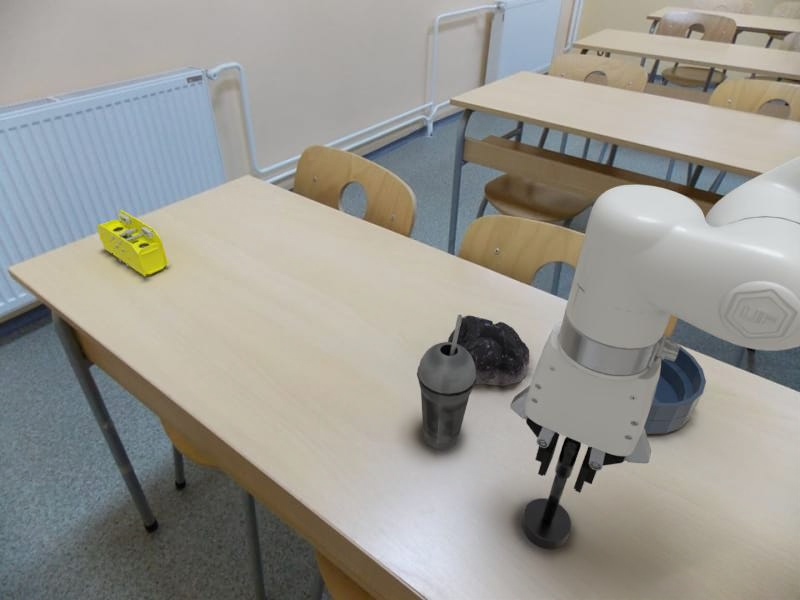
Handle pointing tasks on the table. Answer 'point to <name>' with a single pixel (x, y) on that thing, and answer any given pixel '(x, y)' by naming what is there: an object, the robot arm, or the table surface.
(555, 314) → the table surface
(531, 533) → the disc-capped black rod
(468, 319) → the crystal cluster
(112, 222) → the yellow toy chassis
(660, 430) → the bowl
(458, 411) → the beverage cup
